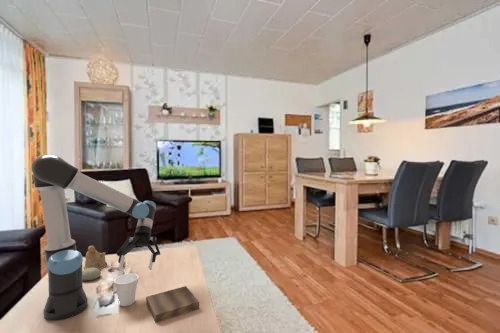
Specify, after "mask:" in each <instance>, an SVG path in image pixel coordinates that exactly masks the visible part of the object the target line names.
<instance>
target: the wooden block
mask: <svg viewBox="0 0 500 333" xmlns="http://www.w3.org/2000/svg"><path fill="white" fill-rule="evenodd" d="M145 303H146V306H147V308H148V310H149V312H150V315H151V317H152V319H153V320H154V322H155V324H157V323H160V322H161V321H162V322H163V321H165V320H168V319H171V318H174V317H178V316H180V315H183V314H186V313H189V312H193V311H196V310H199V309H200V300H198V299H197V297H196V296H195V295H194V294H193V293H192V292H191V291H190V289H189V287H187V286H186V285H184V286H181V287H177V288H174V289H170V290H166V291H162V292H159V293H158V292H157V293H155V294H151V295H149V296H145Z"/></svg>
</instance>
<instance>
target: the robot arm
mask: <svg viewBox="0 0 500 333" xmlns="http://www.w3.org/2000/svg"><path fill="white" fill-rule="evenodd" d="M31 171H32V175H33V176H32V177H33V182H34V183H33V184H34V188H35V189H37V190H38V191H39V192H40V199H41V205H42V206H41V208H42V211H43V220H44V226H45V232H46V240H47V244H46V245H45V246H44V248H43V251H44V258H45V266H46V270H47V276H48V280H47V281H48V296H47V299H46V302H45V305H44V308H43V317H44V319H46V320H49V321H59V320H65V319H68V318H69V319H70V318H71V317H74V316H76V315H78V314H80V313H82V312H83V311H85V309H86V308H88V304H89V303H88V297H87V295H86V292H85V290H84V286H83V282H84V281H83V280H82V272H83V261H84V260H83V255H82V253H81V252H80V251H78V250H77V245H76V244H77V242H76V240H75V239H73V238H72V235H71V230H70V229H71V228H70V222H69V213H68V207H67V206H68V205H67V199H66V193H65V192H66V191H65V190H68V189H71V190H73V191H75V192H77V193H80V194H81V195H84V196H86V197H88V198H90V199H93V200H95V201H97V202H99V203H101V204H102V203H103V204H104V205H107V206H109V207H111V208H114V209H115V210H119V211H121V212H123V213H125V214H127V215H130V216H132V217H133V218H135V219H137V224H136V228H135V231H134V235H133V237H131V236H129V235H128V236H127V237H126V240H125V241H124V242H123V243H122V245H121V246H120V247H119V248H118V250H117V251H116V252H115V254H116V256H117V257H118V260H117V262H118V264H119V265H118V268H117V270H119V272H122V271H123V267H124V263H125V259H126V257H125V256H126V255H127V254H128V253H129V252H131V250H133V249H134V248H136V247H147V249H148V250H149V251H150V252H151V253H152V254H150V259H149V266H148V269H149V271H152V270H153V266H154V263H155V262H156V259H157V256H160V255H161V251H160V248H159V246H158V243H157V237H156V235H153V236H151V234H152V228H153V224H154V219H155V214H156V211H157V210H156V208H157V205H156V202H154V201H152V200H144V201H143V202H142V201H141V200H140V201H139V200H137V199H135V198H133V197H131V196H130V195H128V194H125V193H124V192H121V191H119V190H117V189H114V188H113V187H111V186H109V185H108V184H107V185H106V184H105V183H103V182H101V181H98V180H96V179H94V178H92V177H90V176H89V175H86V174H84V173H82V172H81V171H80V169H79V168H77V167H75V166H73V165H72V164H70V163H68V162H67V161H66V160H65V159H63V158H62V157H60V156H58V155H53V154H43V155H41V156H39V157H37V158H35V159H34V161H33V162H32V165H31ZM150 241H151V242H152V243H153V245H154V247H155V250H156V251H155V250H154V248H153V247H152V246H151V245H150V243H149V242H150Z"/></svg>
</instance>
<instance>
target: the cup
mask: <svg viewBox="0 0 500 333" xmlns="http://www.w3.org/2000/svg"><path fill="white" fill-rule="evenodd" d="M139 279H140V278H139V274H138V273H131V272H130V273H125V274H121V275H119V276H117V277H115V278H114V280H113V282H114V286H115V289H116V290H115V291H116V295H117V300H118V299H119V301H120V305H119V306H121V307H129V306H131V305H132V304H134V303H135V301H136V294H137V287H138V283H139V282H138V281H139ZM119 301H118V302H119Z"/></svg>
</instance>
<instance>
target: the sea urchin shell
mask: <svg viewBox="0 0 500 333" xmlns="http://www.w3.org/2000/svg"><path fill="white" fill-rule="evenodd" d="M101 272H102V271H101V269H97V268H93V267H91V268H87V269H85V270H82V281H83V282H85V281H86V282H87V281H93V280H96V279H98V278H99V277H100V276H101V275H102V273H101Z"/></svg>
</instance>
